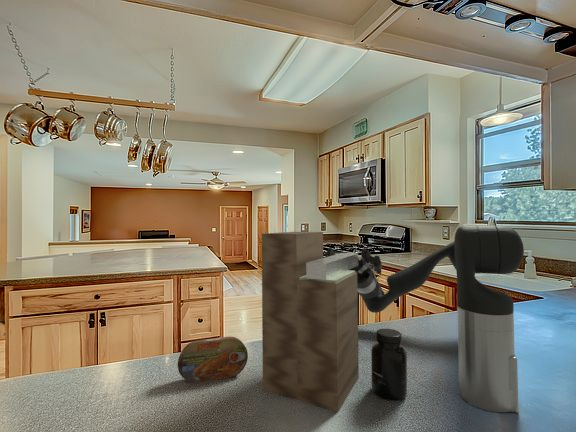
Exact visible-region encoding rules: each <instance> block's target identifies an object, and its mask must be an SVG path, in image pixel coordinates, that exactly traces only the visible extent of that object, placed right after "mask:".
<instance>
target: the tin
mask: <svg viewBox="0 0 576 432" xmlns="http://www.w3.org/2000/svg"><path fill="white" fill-rule="evenodd" d="M248 354H249V353H248V349H247V346H246V345H245V344H244V342H243V341H242V340H241V339H239V338H238V337H235V336H223V337H216V338H215V337H214V338H208V339H207V338H206V339H198V340H194V341H191V342H189V343H188V344H186V346H184V347H183V349H182V350H181V352H180V354H179V357H178V359H177V370H178V373H179V375H180V376H181V377H182V379H184V380H185V381H187V382H188V383H201V382H202V383H203V382H208V381H213V380H214V381H215V380H221V379H228V378H233V377H235V376H237V375H239V374H240V373H241V372H243V370H244V369H245V368H246V365H247V363H248V360H249V359H248V358H249V355H248Z"/></svg>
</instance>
